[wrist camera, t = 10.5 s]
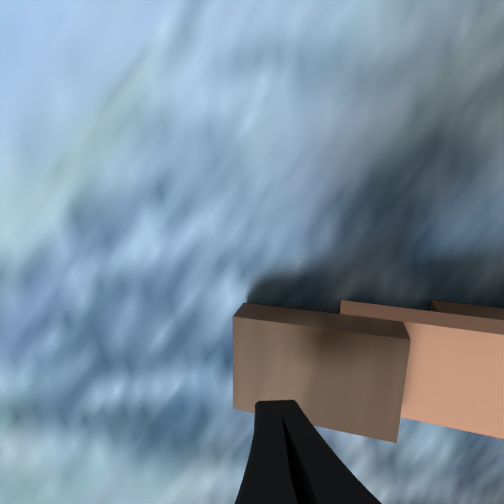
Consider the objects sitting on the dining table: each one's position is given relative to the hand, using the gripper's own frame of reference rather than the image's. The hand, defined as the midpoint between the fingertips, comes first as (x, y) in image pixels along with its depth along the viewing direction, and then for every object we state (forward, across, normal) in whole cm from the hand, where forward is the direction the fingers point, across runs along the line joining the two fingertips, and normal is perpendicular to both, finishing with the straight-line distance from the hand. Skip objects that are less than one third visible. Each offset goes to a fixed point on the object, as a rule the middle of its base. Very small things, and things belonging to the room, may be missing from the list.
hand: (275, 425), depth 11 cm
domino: (+4, +1, 0) cm, 5 cm away
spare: (+4, -4, 0) cm, 6 cm away
